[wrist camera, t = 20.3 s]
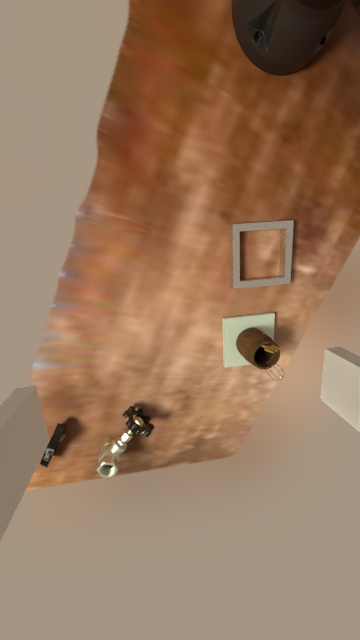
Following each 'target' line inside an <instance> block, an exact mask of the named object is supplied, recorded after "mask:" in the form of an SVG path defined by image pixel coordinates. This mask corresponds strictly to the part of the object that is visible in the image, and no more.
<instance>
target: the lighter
mask: <svg viewBox="0 0 360 640" xmlns="http://www.w3.org/2000/svg"><path fill="white" fill-rule="evenodd" d="M64 429H65V425H62V424H59V423H58V425H57V427H56V429H55V431H54V434H53V436H52V438H51V440H50V442H49V444H48V446H47V448H46V450H45V453H44V455H43V457H42V460H41V462H40V464H41V465H43V466H45V467H48V465H49V463H50V461H51V458H52V456H53V454H54V452H55V449H56V447H57V445H58V442H61V441H62V440H63V439H64V438H65V435H66V434H62V433H63V431H64Z"/></svg>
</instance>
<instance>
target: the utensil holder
mask: <svg viewBox="0 0 360 640" xmlns="http://www.w3.org/2000/svg"><path fill="white" fill-rule="evenodd" d="M236 347H237V350H238V351H239V353H240V354H241V355H242V356H243V357H244V358H245V359H246V360H247V361H248V362H249V363H251V364H253V365H254V366H256V367H257V368H260V369H270V368H271V367H272V366H274V365H275V364H276V365H278V364H277V361H278V360H279V357H280V350H281V348H279V347H278V346H277V345H276V343H275V342H274V341H273V340H272V338H270V337H269V336H268V335H267V334H265V333H264V332H262V331H261V330H259V329H256V328H248V329H245V330H243V331H242V332H241V333H240V334H239V335H238V337H237V340H236ZM278 366H279V365H278ZM279 367H280V366H279ZM274 368H275V367H274ZM275 369H276V368H275ZM276 370H277V369H276ZM281 370H282V369H281ZM265 371H267V370H265ZM277 371H278V370H277ZM271 372H272V371H271ZM283 372H284V371H283ZM267 373H268V372H267ZM272 373H273V372H272ZM278 373H280V372H279V371H278ZM268 375H269V374H268ZM274 375H275V374H274ZM279 375H280V374H279ZM269 376H270V375H269ZM270 377H271V376H270ZM275 377H276V375H275ZM277 377H278V376H277ZM277 377H276V378H277ZM282 377H283V376H282ZM282 377H279V378H280V379H281V378H282ZM271 378H272V377H271ZM279 378H277V379H278V380H279ZM274 379H275V378H274ZM274 379H273V380H274ZM278 380H275V381H278Z"/></svg>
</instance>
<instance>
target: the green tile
mask: <svg viewBox="0 0 360 640" xmlns="http://www.w3.org/2000/svg"><path fill="white" fill-rule="evenodd" d="M274 320H275V313H273V312H269V313H260V314H250V315H241V316H232V317H222V323H223V364H224V367H233V366H241V365H248V364H251V363H249V362H248V361H247V360H246V359H245V358H244V357H243V356H242V355H241V354H240V353H239V351H238V350H237V347H236V340H237V337H238V335H239V334H240V333H241V332H242V331H243V330H245V329H248V328H256V329H259V330H261V331H262V332H264V333H265V334H267V335H268V336H269V337H270V338H272V340H273V341H274Z"/></svg>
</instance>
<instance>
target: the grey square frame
mask: <svg viewBox="0 0 360 640" xmlns="http://www.w3.org/2000/svg"><path fill="white" fill-rule="evenodd" d="M293 223H294V220H291V221H275V222H259V223H244V224H232V225H229V251H230V288H233V289H237V288H248V287H258V286H269V285H280V284H290V281H291V262H292V242H293ZM274 229H281V247H280V273H279V277H268V278H257V279H246V280H240V232H245V231H260V230H274Z"/></svg>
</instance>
